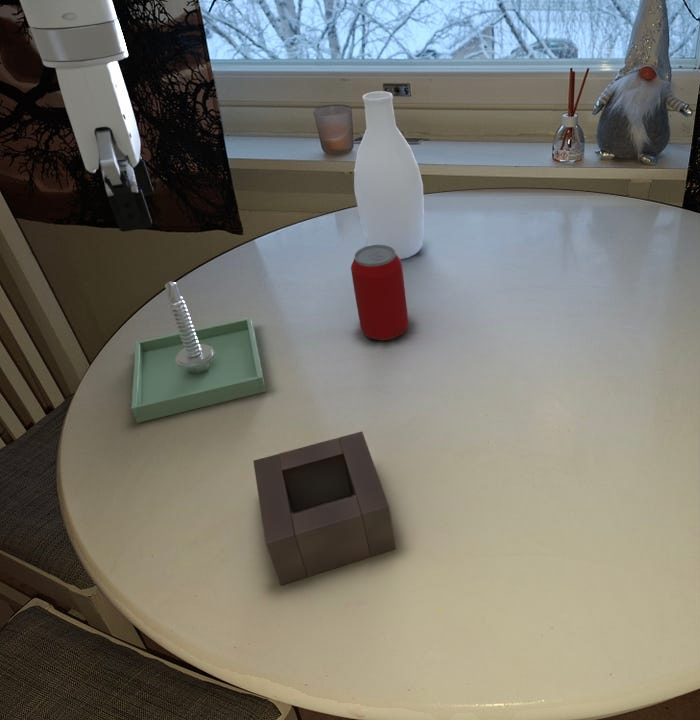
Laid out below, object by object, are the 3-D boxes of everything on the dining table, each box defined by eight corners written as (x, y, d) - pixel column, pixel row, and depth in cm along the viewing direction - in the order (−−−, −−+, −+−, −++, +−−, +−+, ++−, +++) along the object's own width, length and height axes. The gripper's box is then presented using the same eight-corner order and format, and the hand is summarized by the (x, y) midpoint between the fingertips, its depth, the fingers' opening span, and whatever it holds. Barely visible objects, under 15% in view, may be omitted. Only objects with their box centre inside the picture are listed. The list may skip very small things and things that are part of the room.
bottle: (378, 231, 122) (358, 83, 107) (437, 237, 119) (425, 86, 104) (352, 260, 113) (327, 104, 98) (415, 267, 111) (398, 107, 96)
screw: (224, 368, 88) (189, 384, 86) (209, 352, 91) (174, 367, 89) (196, 281, 81) (156, 295, 78) (181, 267, 84) (141, 281, 81)
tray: (137, 423, 81) (131, 408, 80) (141, 355, 93) (135, 341, 92) (266, 391, 85) (262, 377, 84) (254, 330, 97) (250, 316, 96)
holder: (280, 586, 62) (265, 543, 59) (266, 501, 70) (253, 460, 67) (396, 548, 65) (389, 506, 61) (369, 472, 73) (362, 431, 70)
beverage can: (392, 312, 100) (382, 237, 93) (418, 331, 95) (410, 254, 88) (352, 329, 96) (339, 253, 89) (378, 349, 92) (366, 271, 85)
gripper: (50, 32, 71) (106, 190, 80) (22, 65, 57) (94, 249, 67) (127, 26, 73) (173, 180, 83) (118, 56, 59) (175, 236, 69)
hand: (138, 211), depth 75 cm, fingers open, 9 cm apart
